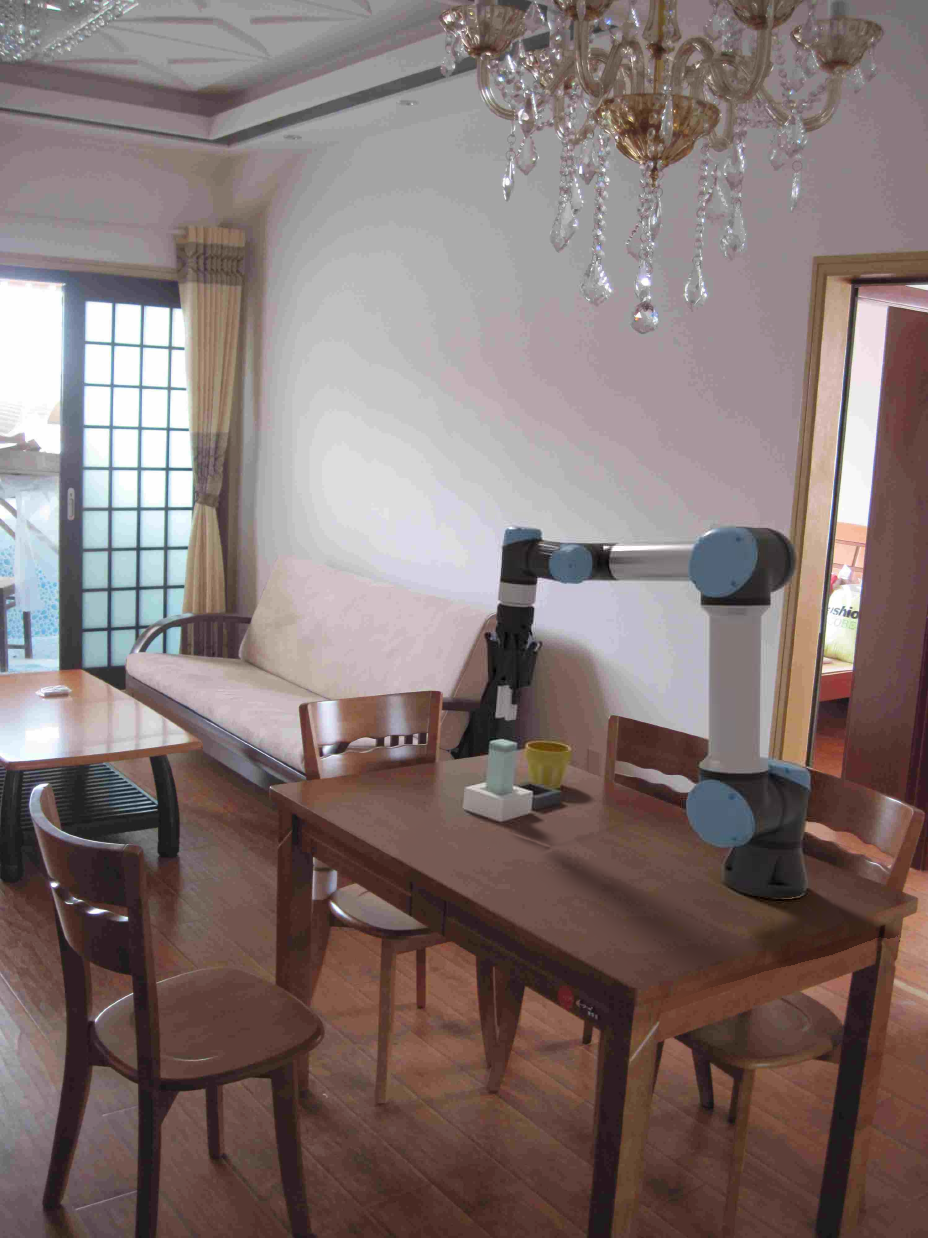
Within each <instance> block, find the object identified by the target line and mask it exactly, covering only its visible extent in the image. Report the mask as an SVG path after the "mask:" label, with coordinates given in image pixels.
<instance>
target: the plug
mask: <svg viewBox="0 0 928 1238" xmlns="http://www.w3.org/2000/svg"><path fill="white" fill-rule="evenodd" d="M517 750H518V743H517V742H514V741H511V740H508V739H504V738H500V739H499V738H498V739H495V740H491V741H489V744H488V756H487V757H488V758H487V767H486V768H487V769H486V781H485V782H486V788H485V791H488V792H491V793H495V794H498V795H501V796H502V795H506V794H509V793H513V785H514V782H515V780H514V779H515V770H516V761H517Z"/></svg>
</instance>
